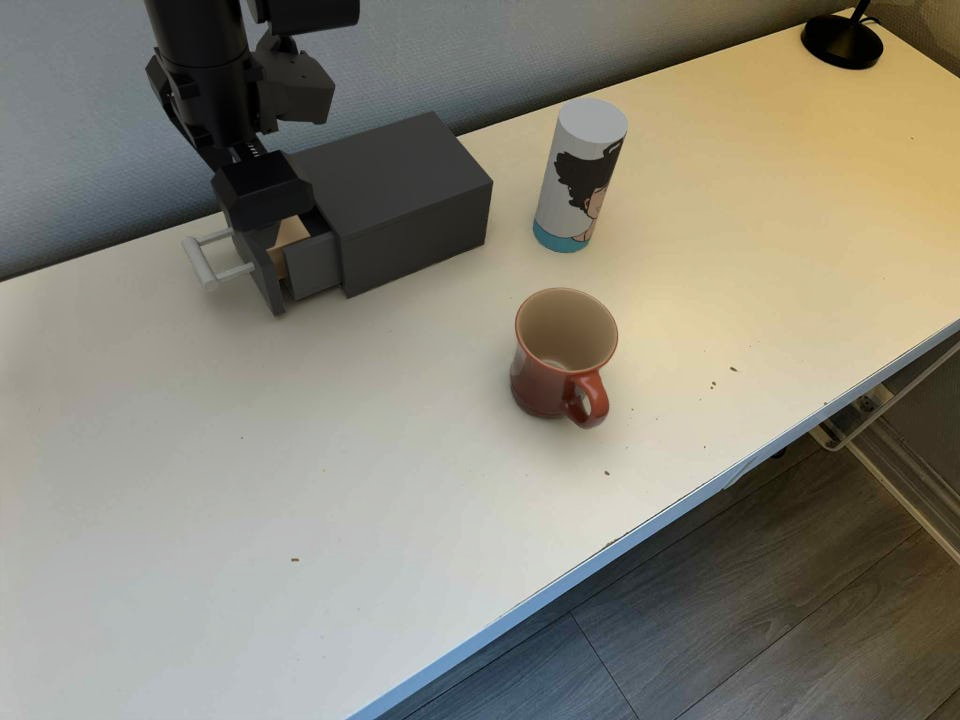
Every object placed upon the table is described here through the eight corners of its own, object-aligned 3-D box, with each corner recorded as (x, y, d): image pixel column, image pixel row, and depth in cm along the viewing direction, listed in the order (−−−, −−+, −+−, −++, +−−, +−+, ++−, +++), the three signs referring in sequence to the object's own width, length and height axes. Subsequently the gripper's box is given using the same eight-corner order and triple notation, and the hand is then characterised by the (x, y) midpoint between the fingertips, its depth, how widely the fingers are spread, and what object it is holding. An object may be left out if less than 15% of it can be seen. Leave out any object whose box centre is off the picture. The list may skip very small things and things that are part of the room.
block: (274, 281, 65) (266, 251, 61) (256, 251, 67) (248, 220, 63) (315, 266, 67) (310, 235, 63) (297, 237, 69) (291, 205, 65)
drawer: (225, 337, 62) (205, 288, 56) (185, 258, 67) (163, 206, 61) (415, 261, 70) (416, 211, 64) (367, 195, 74) (364, 142, 68)
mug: (486, 365, 65) (498, 300, 56) (566, 342, 67) (589, 277, 58) (536, 473, 59) (559, 420, 50) (621, 444, 61) (656, 388, 53)
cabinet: (347, 299, 67) (340, 237, 60) (298, 221, 72) (285, 155, 65) (484, 244, 73) (494, 181, 66) (430, 175, 78) (433, 110, 71)
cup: (584, 259, 73) (621, 150, 61) (526, 242, 74) (551, 131, 61) (596, 218, 77) (633, 108, 64) (540, 203, 78) (566, 90, 65)
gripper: (375, 92, 44) (380, 252, 57) (263, -45, 51) (290, 123, 64) (208, 139, 40) (255, 300, 53) (113, -18, 47) (174, 156, 60)
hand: (247, 212), depth 58 cm, fingers open, 9 cm apart
